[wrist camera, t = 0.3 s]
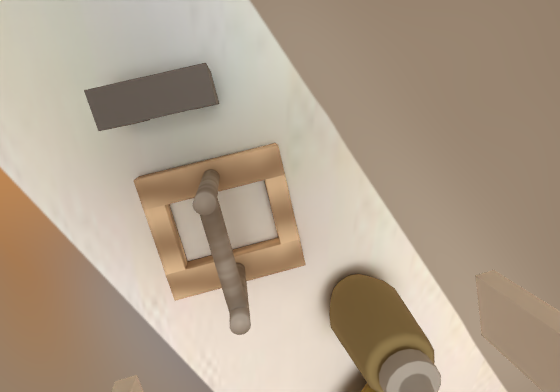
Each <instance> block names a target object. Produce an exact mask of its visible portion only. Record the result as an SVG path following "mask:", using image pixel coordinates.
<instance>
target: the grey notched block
mask: <svg viewBox="0 0 560 392" xmlns="http://www.w3.org/2000/svg"><path fill="white" fill-rule="evenodd" d="M84 92H85V94H86V97H87V100H88V103H89V106H90V108H91V111H92V114H93V117H94V120H95V122H96V125H97V128H98V131H102V130H107V129H112V128H117V127H122V126H127V125H131V124H135V123H139V122H144V121H148V120H150V119H153V118H157V117H162V116H166V115H170V114H174V113H179V112H183V111H187V110H192V109H199V108H203V107H207V106H211V105H216V104H219V101H218V97H217V93H216V90H215V86H214V82H213V78H212V74H211V71H210V70H209V68H208V66H207V64H206V63H202V64H198V65H194V66H189V67H185V68H180V69H176V70H172V71H167V72H163V73H158V74H154V75H150V76H145V77H141V78H136V79H132V80H128V81H123V82H119V83H114V84H110V85H106V86H101V87H97V88H92V89H88V90H84Z"/></svg>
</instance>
